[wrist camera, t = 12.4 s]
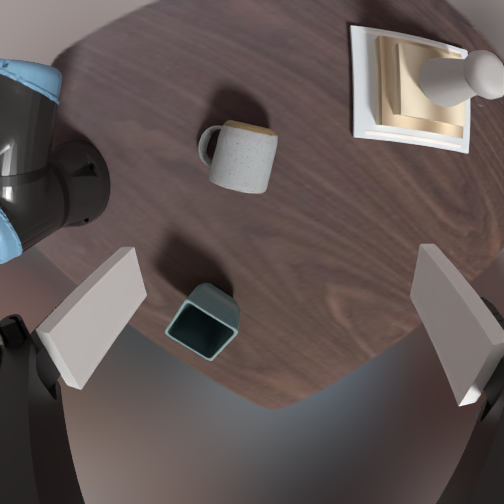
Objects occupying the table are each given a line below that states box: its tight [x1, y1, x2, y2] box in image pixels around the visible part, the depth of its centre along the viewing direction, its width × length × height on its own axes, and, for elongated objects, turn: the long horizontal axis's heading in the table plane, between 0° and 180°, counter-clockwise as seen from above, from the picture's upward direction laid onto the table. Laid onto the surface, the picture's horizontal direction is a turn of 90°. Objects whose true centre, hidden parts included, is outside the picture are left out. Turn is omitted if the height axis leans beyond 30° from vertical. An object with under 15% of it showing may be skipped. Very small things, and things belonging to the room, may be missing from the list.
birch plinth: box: [374, 35, 466, 139], centre depth 28 cm, size 12×12×6 cm
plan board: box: [350, 25, 470, 153], centre depth 31 cm, size 18×16×1 cm
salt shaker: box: [418, 50, 504, 108], centre depth 19 cm, size 6×6×13 cm
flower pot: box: [165, 283, 240, 361], centre depth 47 cm, size 9×9×9 cm
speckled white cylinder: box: [198, 120, 278, 193], centre depth 36 cm, size 11×8×8 cm
